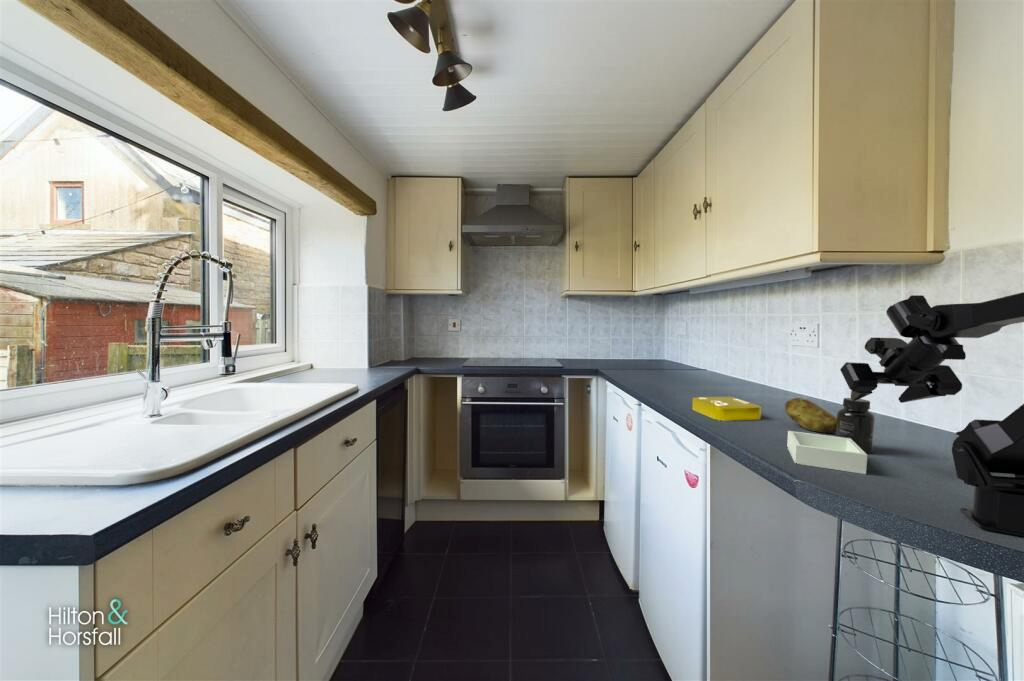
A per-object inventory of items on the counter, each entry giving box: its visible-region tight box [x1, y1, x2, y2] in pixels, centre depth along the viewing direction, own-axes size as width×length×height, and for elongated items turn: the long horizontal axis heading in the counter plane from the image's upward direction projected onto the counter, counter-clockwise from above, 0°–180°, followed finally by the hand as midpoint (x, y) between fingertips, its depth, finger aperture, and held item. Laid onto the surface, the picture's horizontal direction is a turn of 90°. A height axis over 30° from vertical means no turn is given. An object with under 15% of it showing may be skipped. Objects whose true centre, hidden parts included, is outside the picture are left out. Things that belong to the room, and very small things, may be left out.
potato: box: [784, 397, 837, 434], centre depth 111 cm, size 8×13×8 cm, turn 8°
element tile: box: [692, 396, 762, 422], centre depth 127 cm, size 15×15×5 cm
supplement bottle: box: [835, 397, 876, 454], centre depth 94 cm, size 7×7×12 cm
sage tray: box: [786, 430, 868, 475], centre depth 88 cm, size 12×12×4 cm
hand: (876, 399), depth 88 cm, fingers open, 9 cm apart
